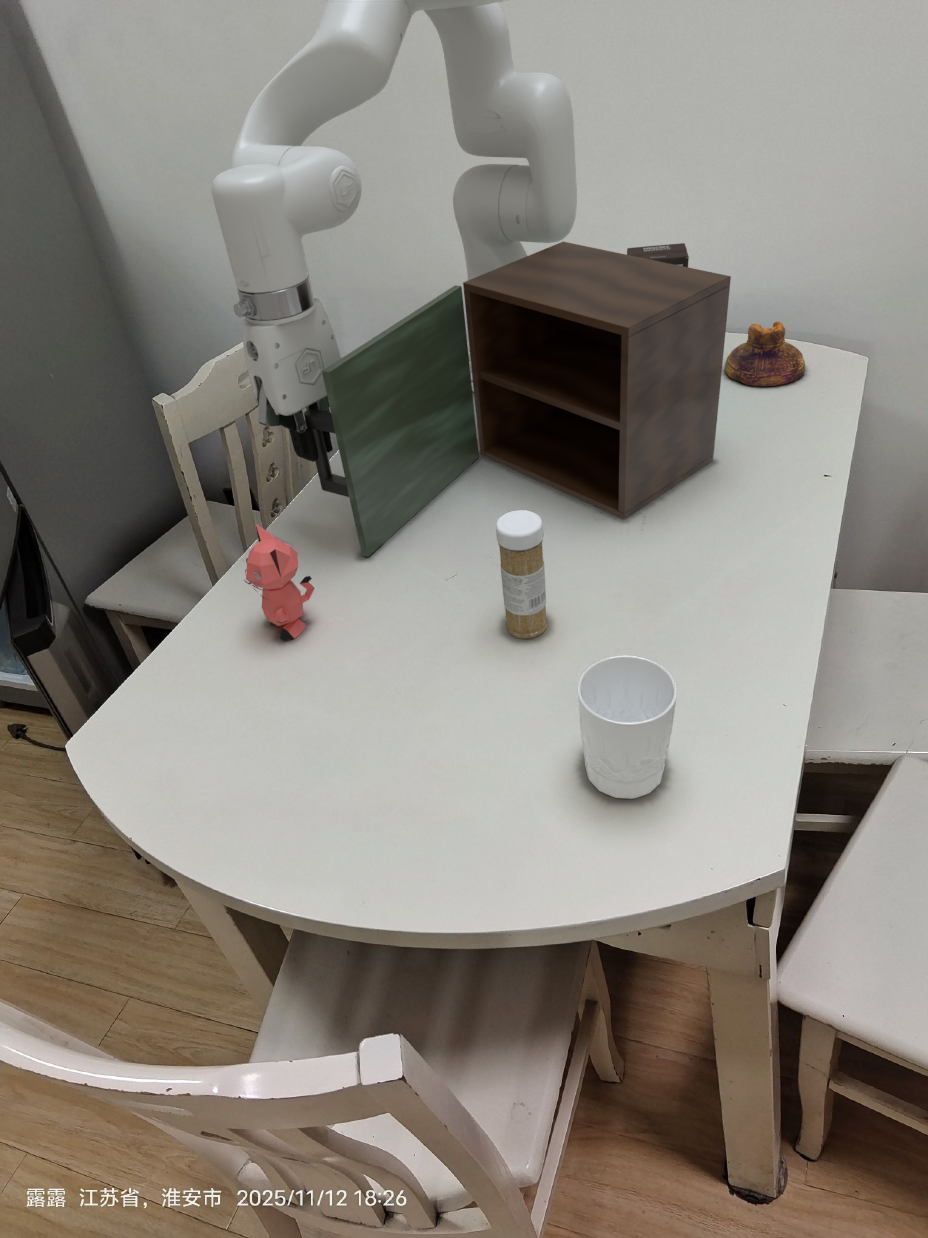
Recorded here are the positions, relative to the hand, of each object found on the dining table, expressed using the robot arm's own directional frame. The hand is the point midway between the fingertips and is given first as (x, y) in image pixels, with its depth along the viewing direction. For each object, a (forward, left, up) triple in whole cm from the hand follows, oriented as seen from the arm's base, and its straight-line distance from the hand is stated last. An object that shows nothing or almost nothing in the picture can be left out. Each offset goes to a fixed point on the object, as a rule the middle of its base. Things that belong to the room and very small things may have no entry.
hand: (314, 452), depth 101 cm
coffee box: (-2, +66, -12) cm, 67 cm away
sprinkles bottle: (+31, +3, -12) cm, 34 cm away
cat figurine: (+11, -14, -12) cm, 21 cm away
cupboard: (+13, +34, -12) cm, 38 cm away
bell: (+16, +70, -12) cm, 73 cm away
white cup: (+51, -5, -12) cm, 53 cm away
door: (+1, +11, -11) cm, 16 cm away
